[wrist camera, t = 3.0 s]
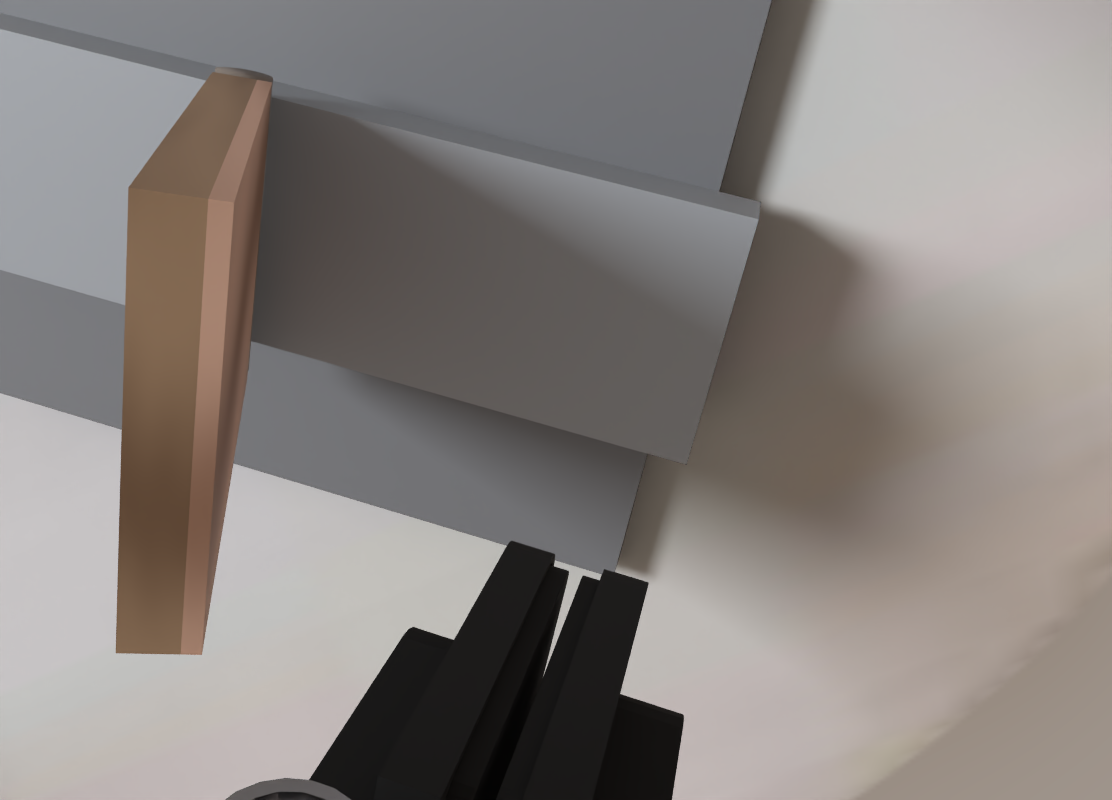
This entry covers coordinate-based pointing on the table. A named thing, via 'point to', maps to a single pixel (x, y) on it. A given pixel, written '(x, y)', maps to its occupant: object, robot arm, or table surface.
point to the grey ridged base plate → (408, 237)
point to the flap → (187, 356)
